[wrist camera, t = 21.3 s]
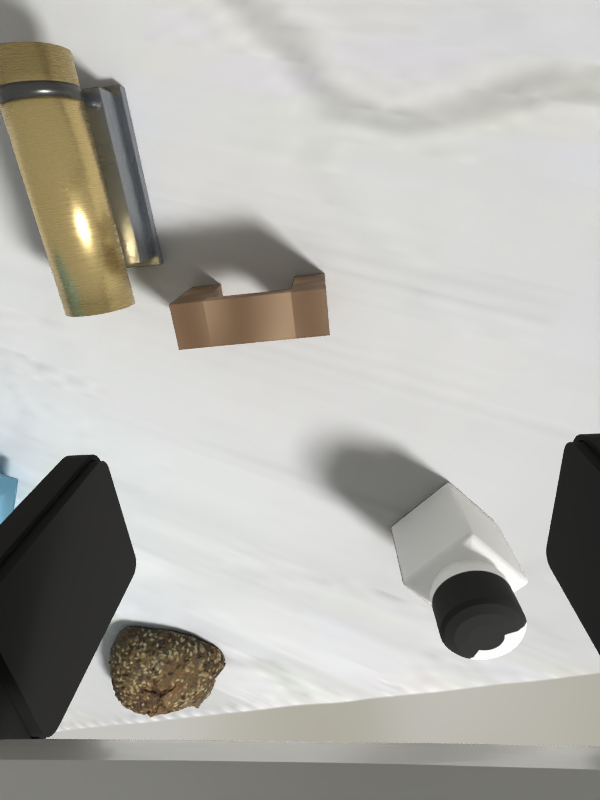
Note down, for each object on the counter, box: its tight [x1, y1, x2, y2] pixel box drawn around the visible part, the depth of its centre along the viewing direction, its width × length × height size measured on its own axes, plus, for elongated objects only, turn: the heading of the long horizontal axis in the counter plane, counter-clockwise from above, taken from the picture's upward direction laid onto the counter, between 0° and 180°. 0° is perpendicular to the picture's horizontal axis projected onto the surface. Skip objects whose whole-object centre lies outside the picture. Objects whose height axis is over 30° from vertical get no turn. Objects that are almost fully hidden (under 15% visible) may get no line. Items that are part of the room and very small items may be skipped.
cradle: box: [82, 85, 163, 268], centre depth 31 cm, size 6×11×3 cm, turn 6°
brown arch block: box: [169, 273, 330, 350], centre depth 33 cm, size 10×3×6 cm, turn 96°
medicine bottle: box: [391, 483, 528, 660], centre depth 38 cm, size 7×7×12 cm
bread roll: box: [109, 627, 226, 717], centre depth 51 cm, size 13×12×5 cm
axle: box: [0, 42, 135, 317], centre depth 28 cm, size 14×4×4 cm, turn 6°
